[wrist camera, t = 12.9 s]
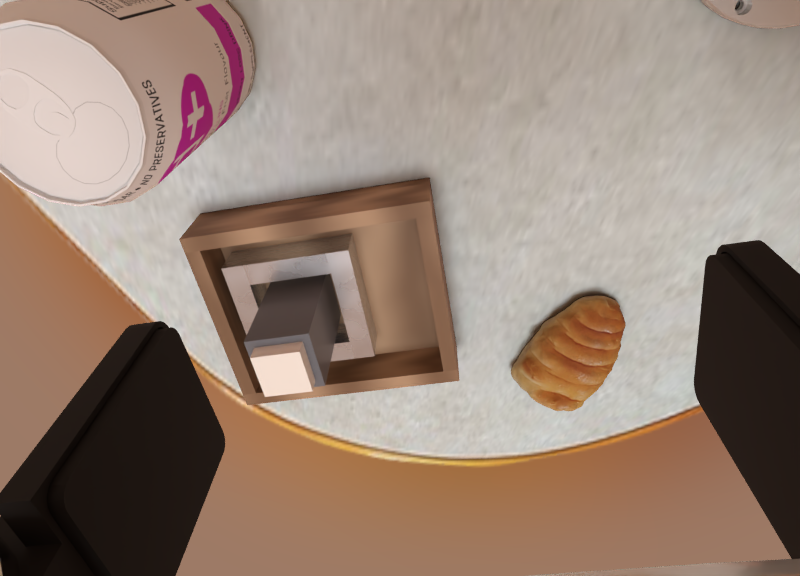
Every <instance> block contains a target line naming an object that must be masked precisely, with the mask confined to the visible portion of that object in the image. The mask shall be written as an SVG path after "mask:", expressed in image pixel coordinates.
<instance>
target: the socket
mask: <svg viewBox="0 0 800 576" xmlns="http://www.w3.org/2000/svg"><path fill="white" fill-rule="evenodd" d="M221 269H222V272H223V275H224V277H225V280H226V282H227V285H228V288H229V290H230V293H231V296H232V298H233V301H234V303H235V306H236V309H237V311H238V314H239V317H240V319H241V322H242V324H243V327H244V330H245V332H246V335H247V333H248V331H249V329H250V327H251V325H252V322H253V320H254V318H255V316H256V313H257V311H258V309H259V307H260V304H261V302H262V300H263V298H264V296H265V293H266V291H267V289H266V286H265V283H268V282H275V281H282V280H289V279H296V278H303V277H310V276H318V275H325V274H331V275H332V279H333V283H334V286H335V290H336V293H337V297H338V301H339V304H340V308H341V312H342V315H343V319H344V323H342V324H339V326H338V331H337V335H336V340H335V344H334V349H333V353H332V358H331V361H340V360H348V359H356V358H364V357H372V356H375V350H376V342H377V333H376V329H375V325H374V321H373V316H372V312H371V308H370V304H369V300H368V296H367V292H366V288H365V283H364V279H363V275H362V271H361V267H360V263H359V259H358V255H357V251H356V246H355V242H354V238H353V234H345V235H338V236H332V237H325V238H318V239H311V240H305V241H298V242H291V243H285V244H278V245H271V246H264V247H258V248H251V249H244V250H237V251H232V252H231V254H230V255H229V257H228V259H227V260H226V262H225V263H224V265H223V267H222V268H221Z"/></svg>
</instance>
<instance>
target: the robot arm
mask: <svg viewBox="0 0 800 576" xmlns="http://www.w3.org/2000/svg"><path fill="white" fill-rule="evenodd" d="M701 1H702V2H703V3H704V4H705V6H706V7H708V8H709V9H711V10H712V11H714V12H715V13H717V14H718V15H720V16H721V17H723V18H725V19H728V20H731V21H734V22H736V23H739V24H742V25H747V26H752V27H756V28H780V29H781V28H787V27H792V26H798V25H800V0H701ZM738 1H740V6H739V7H738V8H737V9H736V10H735V6H736V3H737V2H738ZM694 388H695V393H696V396H697V399H698V401H699V403H700V405H701V407H702V408H703V410H704V412H705V413H706V415H707V417H708V418H709V420H710V422H711V423H712V425H713V427H714V429H715V430H716V432H717V434H718V435H719V437H720V438H721V440H722V442H723V444H724V445H725V447H726V449H727V450H728V452H729V454H730V455H731V457H732V459H733V460H734V462H735V464H736V466H737V467H738V469H739V471H740V472H741V474H742V476H743V477H744V479H745V481H746V482H747V484H748V486H749V487H750V489H751V491H752V492H753V494H754V496H755V497H756V499H757V501H758V503H759V504H760V506H761V508H762V509H763V511H764V513H765V514H766V516H767V518H768V519H769V521H770V523H771V525H772V526H773V528H774V529H775V531H776V533H777V535H778V536H779V538H780V540H781V541H782V543H783V544H784V546H785V548H786V550H787V551H788V553H789V555H790V556H791V558H792V559H786V560H785V559H784V560H766V561H746V562H728V563H709V564H694V565H679V566H664V567H649V568H635V569H620V570H605V571H590V572H576V573H561V574H546V575H532V576H800V274H799V273H798V272H796V271H795V270H794V269H793V268H792V267H791V266H790V265H789V264H788V263H786V262H785V261H784V260H783V259H782V258H781V257H780V256H779V255H777V254H776V253H775V252H774V251H773V250H772V249H771V248H770V247H768V246H767V245H766V244H765V243H764V242H762V241H760V240H756V241H749V242H741V243H734V244H726V245H721V246H720V247H719V248H718V250H717V253H716V255H710V256H709V257H708V258H707V260H706V264H705V274H704V284H703V294H702V304H701V314H700V325H699V335H698V345H697V355H696V365H695V375H694ZM224 448H225V438H224V433H223V430H222V428H221V426H220V424H219V422H218V419H217V417H216V415H215V413H214V410H213V408H212V406H211V404H210V402H209V399H208V398H207V395H206V393H205V391H204V388H203V386H202V384H201V382H200V379H199V377H198V375H197V373H196V371H195V368H194V366H193V364H192V362H191V360H190V357H189V355H188V353H187V351H186V349H185V346H184V344H183V342H182V340H181V337H180V335H179V333H178V332H177V330H176V329H174V328H172V327H171V328H169V327H168V326H167V325H166V324H165V323H164V322H161V321H158V322H151V323H143V324H136V325H131V326H129V327H128V328H127V329H125V331H124V332H123V333H122V335H121V336H120V338H119V339H118V340H117V341H116V343H115V344H114V345H113V347H112V348H111V349H110V350H109V352H108V353H107V354H106V356H105V357H104V358H103V360H102V361H101V362H100V363H99V365H98V366H97V367H96V369H95V370H94V372H93V373H92V374H91V375H90V376H89V378H88V379H87V380H86V382H85V383H84V384H83V386H82V387H81V388H80V390H79V391H78V392H77V393H76V395H75V396H74V397H73V399H72V400H71V401H70V403H69V404H68V405H67V407H66V408H65V409H64V410H63V412H62V413H61V415H60V416H59V417H58V418H57V420H56V421H55V422H54V423H53V425H52V426H51V427H50V429H49V430H48V431H47V433H46V434H45V435H44V437H43V438H42V439H41V440H40V442H39V443H38V444H37V446H36V447H35V448H34V450H33V451H32V452H31V453H30V455H29V456H28V458H27V459H26V460H25V461H24V463H23V464H22V465H21V467H20V468H19V469H18V471H17V472H16V473H15V474H14V476H13V477H12V478H11V480H10V481H9V482H8V484H7V485H6V486H5V488H4V489H3V490H2V491H1V493H0V515H1V517H0V576H175V575H176V573H177V570H178V568H179V565H180V563H181V560H182V558H183V555H184V553H185V550H186V547H187V545H188V542H189V540H190V537H191V534H192V532H193V529H194V527H195V524H196V522H197V519H198V517H199V514H200V511H201V509H202V506H203V504H204V501H205V499H206V496H207V493H208V491H209V489H210V486H211V483H212V481H213V478H214V476H215V473H216V471H217V468H218V466H219V463H220V460H221V458H222V455H223V453H224Z"/></svg>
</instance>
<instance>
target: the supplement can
mask: <svg viewBox="0 0 800 576" xmlns="http://www.w3.org/2000/svg"><path fill="white" fill-rule="evenodd" d="M254 73H255V63H254V55H253V47H252V42H251V40H250V38H249V36H248V33H247V31H246V29H245V27H244V25H243V22H242V20H241V18H240V17H239V16H238V15H237V13H236V12H235V11H234V10H233V9H232V8H231V7H230V6H229V4H228V3H227V2H226V1H225V0H19V1H14V2H9V3H5V4H4V5H3V6H1V7H0V172H1V173H2V174H3V175H5V176H6V177H7V178H8V179H9V180H11V181H12V182H13V183H14V184H15V185H17V186H18V187H20V188H22V189H24V190H26V191H28V192H30V193H32V194H34V195H36V196H38V197H41V198H43V199H45V200H47V201H49V202H55V203H61V204H67V205H73V206H86V205H96V206H105V205H111V204H118V203H124V202H130V201H132V200H134V199H136V198H137V197H139V196H140V195H142V194H144V193H145V192H147V191H148V190H150V189H152V188H153V187H155V186H156V185H157V184H158V183H160V182H161V181H162V180H163V179H164V178H165V177H166V176H167V175H168V174H169V173H170V172H172V171H173V170H174V169H175V168H176V167H177V166H178V165H179V164H180V163H181V162H182V161H184V160H185V159H186V158H187V157H188V156H189V155H190V154H191V153H192V152H193V151H194V150H196V149H197V148H198V147H199V146H200V145H201V144H202V143H203V142H204V141H205V140H206V139H208V138H209V137H210V136H211V135H212V134H213V133H214V132H215V131H216V130H217V129H218V128H220V127H221V126H222V125H223V124H224V123H225V122H226V121H227V120H228V119H229V118H230V117H232V116H233V115H234V114H235V113H236V112H237V111H238V110H239V108H240V107H241V105H242V104H243V102H244V101H245V99H246V98H247V96H248V95H249V93H250V91H251V86H252V82H253V77H254Z"/></svg>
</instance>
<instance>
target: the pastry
mask: <svg viewBox="0 0 800 576" xmlns="http://www.w3.org/2000/svg"><path fill="white" fill-rule="evenodd" d="M624 328H625V321H624V317H623V315H622V313H621V311H620V306H619V304H618V302H617V301H615V300H613V299H611V298H609V297H606V296H586V297H582V298H580V299H578V300H576V301H575V302H573V303H572V304H571V305H570V306H569V307H567V308H566V309H565V310H564V311H562V312H560V313H558V314H557V315H556V316H555V317H552V318H550V319H548V320H547V321H545V322H544V323H543V324H542V326H541V328H540V330H539V331H538V332H537V333H536V334H535V335H534V337H533V338H532V339H531V340H530V341H529V342H528V343H527V345H526V346H525V348H524V349H523V350H522V352H521V354H520V355H519V357H518V359H517V361H516V362H515V363H514V365H513V367H512V369H511V374H512V377H513V379H514V380H515V381H516V382H517V383H518V384H519V386H520V387H521V388H522V389H523V390H525V391H526V392H527V393H528V394H529V395H530V396H531V398H532V399H534V400H535V401H536V402H538V403H540V404H542V405H544V406H546V407H548V408H551V409H553V410H556V411H562V410H565V411H573V410H575V409H577V408H579V407H581V406H582V405H583V403H584V401H585V400H586V399H587V398H588V397H590V396H591V395H592V394H593V393H594V392H595V391H597V390H598V388H599V387H600V386H601V385H602V384H603V382H604V380H605V378H606V377H607V375H608V374H609V373H610V371H611V370H612V367H613V365H614V363H615V361H616V359H617V357H618V352H619V350H620V347H621V343H620V341H621V338H622V335H623V331H624Z"/></svg>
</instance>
